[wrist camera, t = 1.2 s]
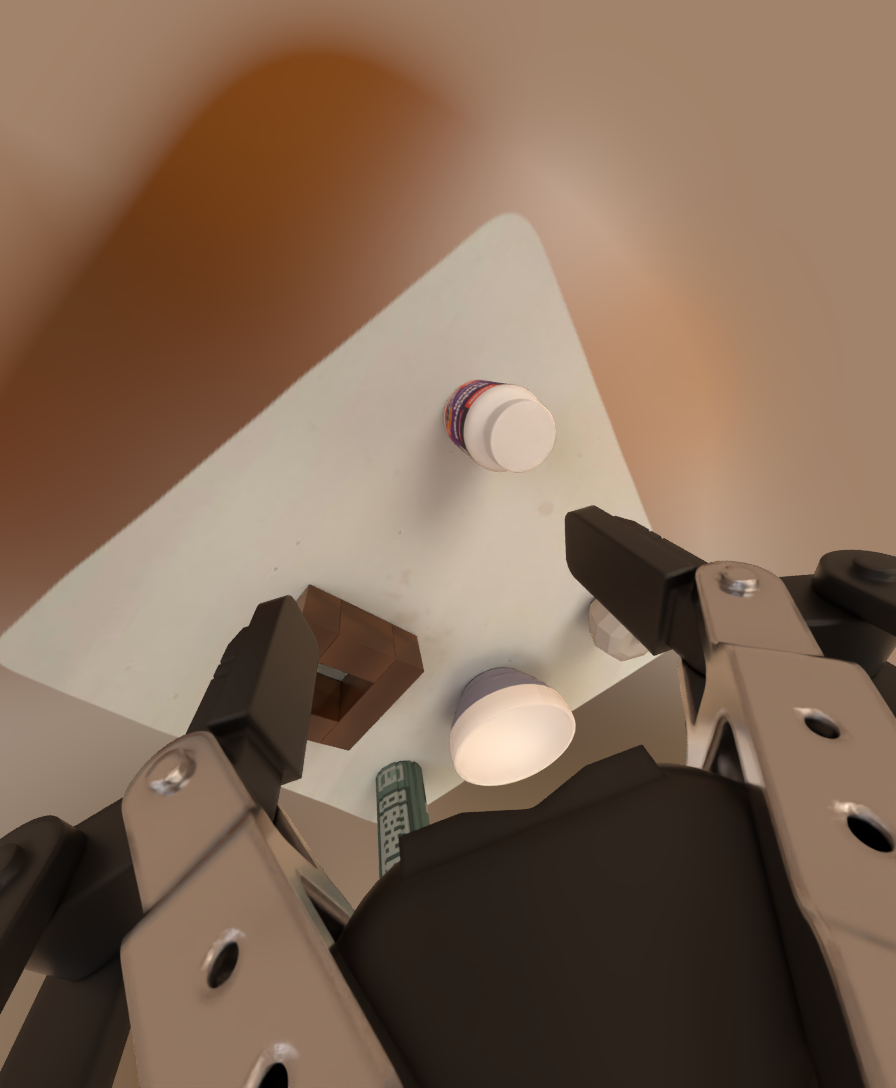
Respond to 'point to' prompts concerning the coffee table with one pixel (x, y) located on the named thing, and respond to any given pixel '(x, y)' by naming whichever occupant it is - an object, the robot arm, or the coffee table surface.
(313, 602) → the socket pad
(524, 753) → the bowl
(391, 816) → the can
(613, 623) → the apple
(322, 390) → the coffee table surface
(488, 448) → the pill bottle
